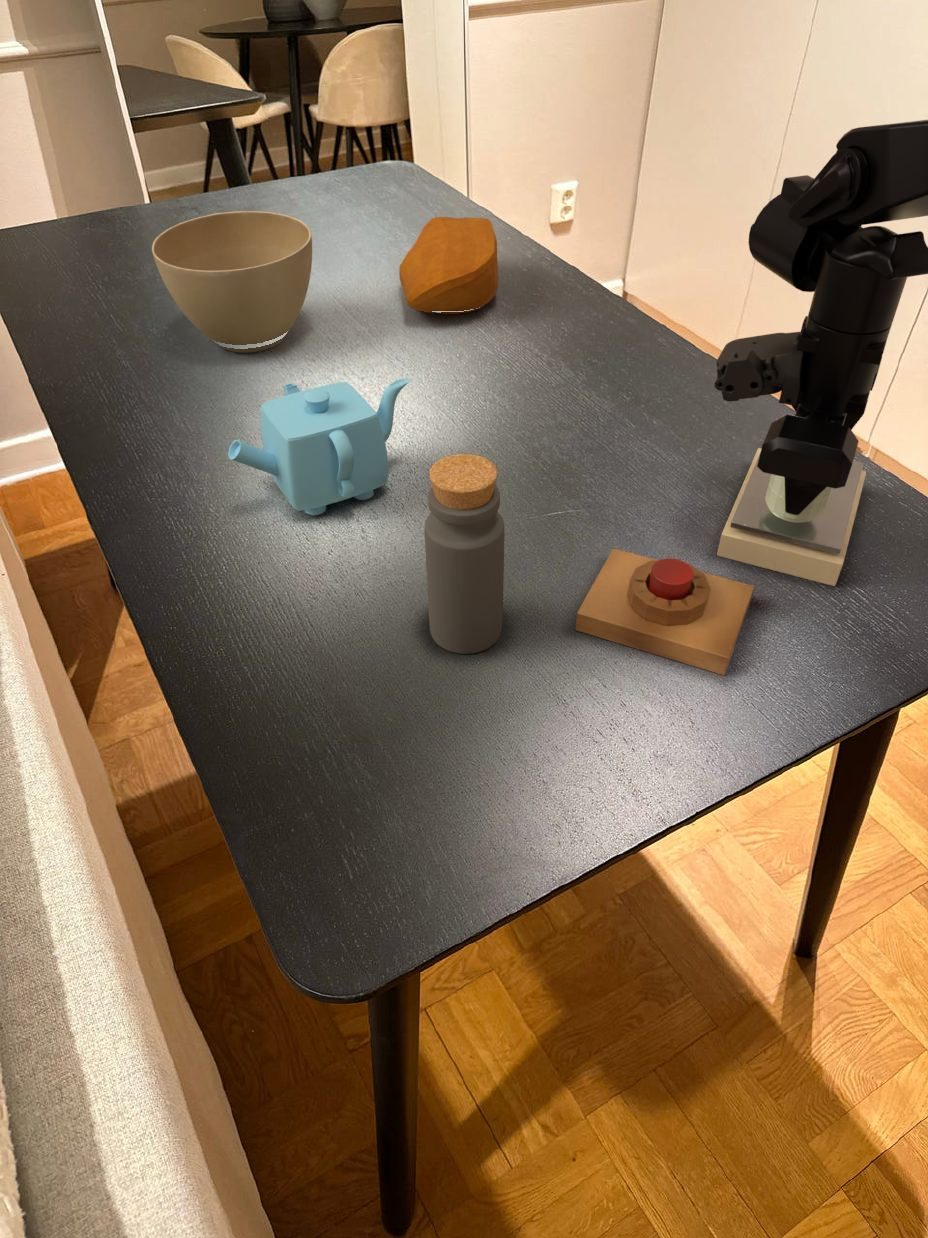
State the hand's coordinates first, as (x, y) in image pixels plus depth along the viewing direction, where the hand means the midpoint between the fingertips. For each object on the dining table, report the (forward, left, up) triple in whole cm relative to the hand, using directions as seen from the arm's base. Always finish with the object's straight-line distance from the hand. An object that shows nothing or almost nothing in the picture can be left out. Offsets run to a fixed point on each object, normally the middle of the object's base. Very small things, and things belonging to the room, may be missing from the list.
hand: (797, 496), depth 75 cm
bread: (+51, -36, -6) cm, 62 cm away
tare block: (+7, +13, -6) cm, 16 cm away
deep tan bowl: (+68, -15, -6) cm, 70 cm away
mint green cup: (0, 0, -1) cm, 1 cm away
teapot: (+42, +8, -6) cm, 43 cm away
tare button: (+7, +13, -2) cm, 15 cm away
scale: (0, -4, -6) cm, 7 cm away
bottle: (+21, +21, -6) cm, 30 cm away
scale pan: (0, -4, -3) cm, 5 cm away
